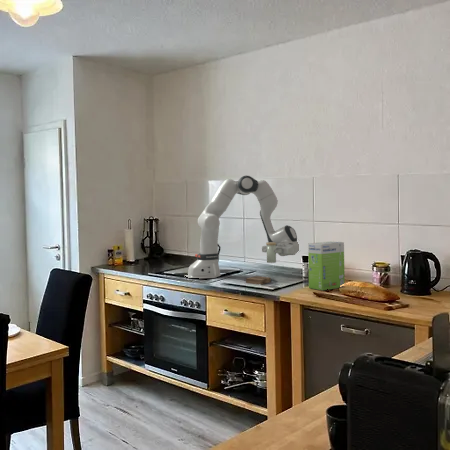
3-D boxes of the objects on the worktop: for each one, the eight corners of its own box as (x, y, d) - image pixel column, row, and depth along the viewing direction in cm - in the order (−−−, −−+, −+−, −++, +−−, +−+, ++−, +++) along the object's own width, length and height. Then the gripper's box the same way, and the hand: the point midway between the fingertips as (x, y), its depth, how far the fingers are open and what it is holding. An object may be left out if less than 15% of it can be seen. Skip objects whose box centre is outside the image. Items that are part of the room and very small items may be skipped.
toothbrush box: (330, 284, 283) (330, 240, 281) (345, 287, 274) (345, 242, 273) (307, 288, 272) (307, 243, 271) (322, 291, 264) (322, 244, 262)
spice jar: (269, 263, 299) (268, 243, 298) (264, 261, 305) (264, 242, 304) (278, 262, 301) (277, 242, 300) (273, 261, 307) (273, 242, 306)
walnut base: (260, 284, 287) (260, 280, 286) (246, 282, 293) (246, 278, 293) (270, 282, 294) (270, 277, 294) (256, 280, 301) (256, 276, 301)
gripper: (269, 242, 319) (256, 244, 308) (297, 244, 306) (284, 246, 295) (269, 252, 319) (256, 255, 309) (297, 254, 306) (284, 257, 295)
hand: (270, 251), depth 302 cm, fingers closed on spice jar, 5 cm apart
